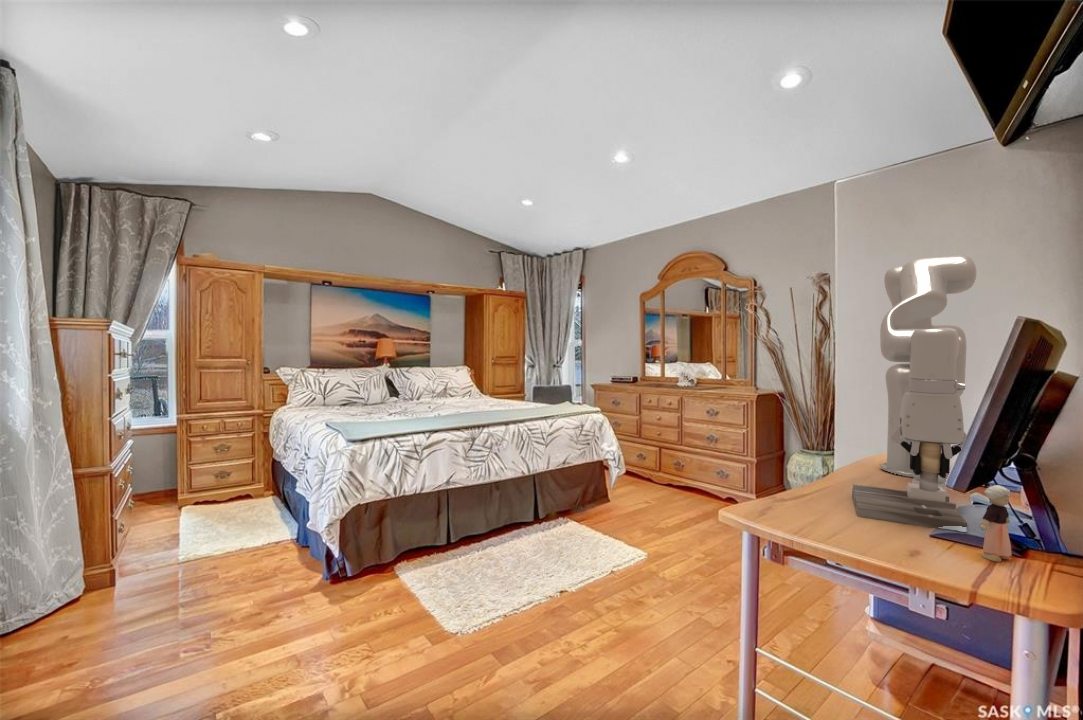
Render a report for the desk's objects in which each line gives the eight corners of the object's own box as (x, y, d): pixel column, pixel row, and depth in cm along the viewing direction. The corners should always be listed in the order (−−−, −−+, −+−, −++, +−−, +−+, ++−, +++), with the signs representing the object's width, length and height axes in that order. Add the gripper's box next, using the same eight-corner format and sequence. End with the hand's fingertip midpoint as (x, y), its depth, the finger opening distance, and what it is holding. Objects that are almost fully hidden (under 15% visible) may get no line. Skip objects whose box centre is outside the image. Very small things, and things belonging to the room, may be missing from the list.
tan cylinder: (915, 486, 102) (917, 439, 101) (937, 488, 100) (939, 441, 100) (919, 490, 99) (920, 442, 98) (941, 493, 97) (943, 444, 96)
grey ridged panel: (851, 495, 116) (852, 482, 116) (946, 508, 107) (946, 494, 107) (857, 516, 102) (858, 501, 102) (966, 532, 94) (967, 517, 93)
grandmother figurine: (1004, 566, 79) (1007, 492, 79) (974, 557, 83) (977, 486, 82) (1017, 555, 84) (1020, 484, 83) (988, 547, 87) (991, 479, 86)
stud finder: (907, 495, 109) (907, 482, 109) (940, 499, 106) (941, 486, 106) (910, 500, 105) (910, 486, 105) (945, 505, 102) (945, 490, 102)
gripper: (978, 388, 98) (975, 476, 98) (880, 384, 106) (878, 465, 106) (991, 391, 91) (987, 485, 92) (885, 387, 99) (882, 473, 100)
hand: (928, 474), depth 99 cm, fingers closed on tan cylinder, 3 cm apart
